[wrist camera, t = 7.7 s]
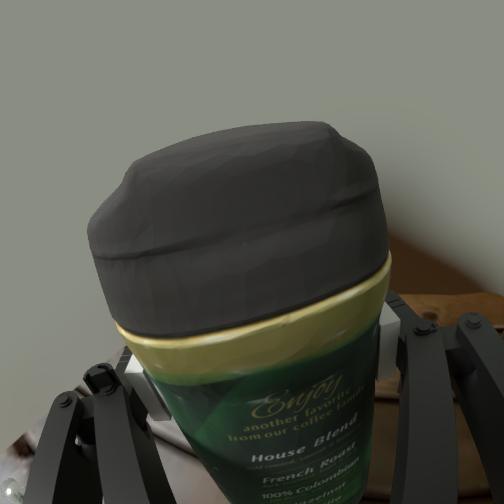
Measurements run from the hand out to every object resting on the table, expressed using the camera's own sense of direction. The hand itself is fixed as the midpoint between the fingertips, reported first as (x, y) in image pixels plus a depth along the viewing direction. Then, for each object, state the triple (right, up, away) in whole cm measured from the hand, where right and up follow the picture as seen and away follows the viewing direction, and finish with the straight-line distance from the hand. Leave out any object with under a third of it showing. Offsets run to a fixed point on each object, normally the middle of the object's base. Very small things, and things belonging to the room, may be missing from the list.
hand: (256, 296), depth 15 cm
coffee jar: (+2, -11, -1) cm, 12 cm away
